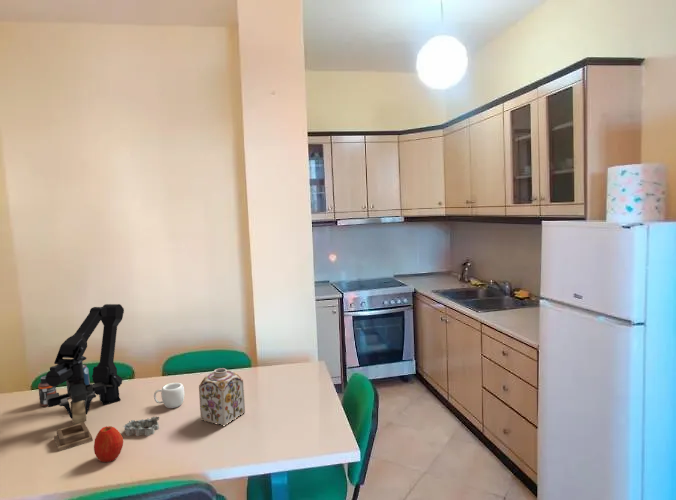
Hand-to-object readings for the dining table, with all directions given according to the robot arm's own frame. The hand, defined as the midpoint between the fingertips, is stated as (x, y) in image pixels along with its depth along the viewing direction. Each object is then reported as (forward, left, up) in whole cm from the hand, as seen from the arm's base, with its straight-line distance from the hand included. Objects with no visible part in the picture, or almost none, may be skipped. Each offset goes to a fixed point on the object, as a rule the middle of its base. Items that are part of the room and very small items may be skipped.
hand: (79, 416), depth 171 cm
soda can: (-5, -28, -2) cm, 29 cm away
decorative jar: (-42, +33, -2) cm, 53 cm away
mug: (-30, +9, -2) cm, 31 cm away
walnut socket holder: (+4, +14, -2) cm, 15 cm away
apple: (-3, +35, -2) cm, 35 cm away
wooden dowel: (0, 0, -2) cm, 2 cm away
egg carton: (-16, +24, -2) cm, 28 cm away
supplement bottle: (+7, -26, -2) cm, 27 cm away
